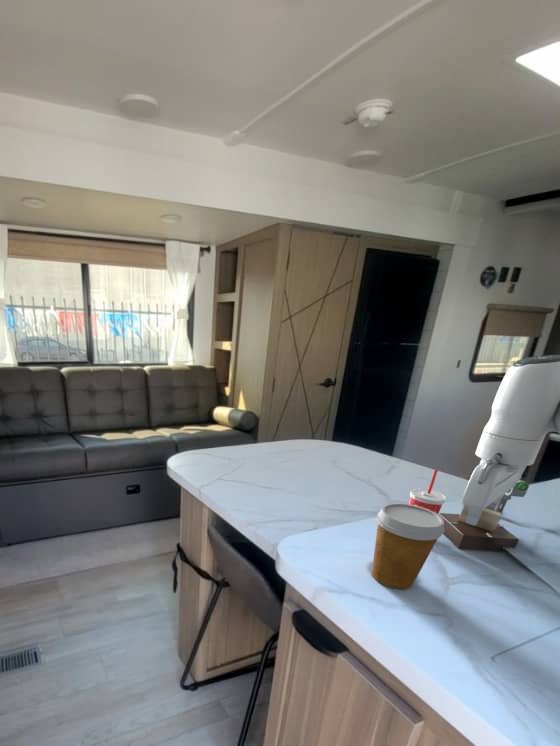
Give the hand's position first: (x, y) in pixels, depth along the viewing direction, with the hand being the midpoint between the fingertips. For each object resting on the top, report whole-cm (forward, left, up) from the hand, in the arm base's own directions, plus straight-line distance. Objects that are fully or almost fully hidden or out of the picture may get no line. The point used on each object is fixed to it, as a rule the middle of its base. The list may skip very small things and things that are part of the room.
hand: (480, 517), depth 80 cm
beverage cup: (+11, +1, -5) cm, 12 cm away
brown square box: (0, 0, -5) cm, 5 cm away
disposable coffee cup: (+22, +18, -5) cm, 29 cm away
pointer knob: (0, 0, -2) cm, 2 cm away
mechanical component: (-12, -12, -5) cm, 18 cm away
